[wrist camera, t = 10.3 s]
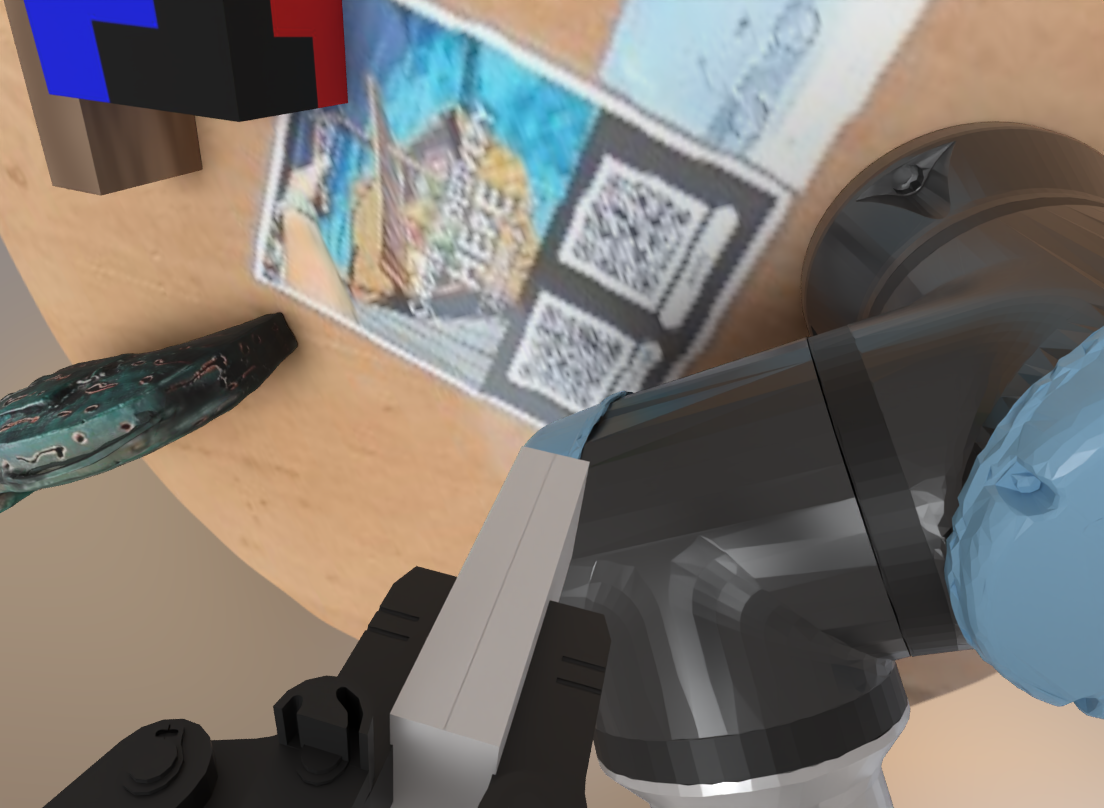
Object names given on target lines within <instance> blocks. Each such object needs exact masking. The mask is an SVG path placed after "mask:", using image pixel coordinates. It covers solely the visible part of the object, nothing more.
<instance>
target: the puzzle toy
mask: <svg viewBox="0 0 1104 808" xmlns="http://www.w3.org/2000/svg"><path fill="white" fill-rule="evenodd" d="M24 4H25V8H26V11H27V15H28V19H29V22H30V26H31V30H32V33H33V37H34V41H35V44H36V48H37V52H38V56H39V59H40V63H41V67H42V70H43V74H44V78H45V81H46V85H47V89H48V92H49V94H50V95H57V96H64V97H71V98H78V99H85V100H92V101H99V102H105V103H112V104H119V105H126V106H133V107H140V108H147V109H154V110H161V111H168V112H175V113H182V114H188V115H195V116H202V117H209V118H216V119H223V120H230V121H237V122H242V121H247V120H253V119H259V118H265V117H270V116H276V115H282V114H287V113H293V112H299V111H305V110H310V109H316V108H322V107H327V106H333V105H339V104H345V103H348V95H347V78H346V61H345V45H344V28H343V11H342V0H24Z"/></svg>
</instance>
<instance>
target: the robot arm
mask: <svg viewBox="0 0 1104 808" xmlns="http://www.w3.org/2000/svg"><path fill="white" fill-rule="evenodd" d="M801 302H802V309H803V314H804V318H805V321H806V325H807V328H808V331H809V334H810V337H808V338H807V337H805V338H802V339H799V340H796V341H793V342H790V343H787V344H784V345H781V346H778V347H775V348H772V349H769V350H766V351H763V352H760V353H756V354H753V355H750V356H747V357H744V358H741V359H738V360H735V361H732V362H729V363H726V364H723V365H720V366H717V367H714V368H711V369H708V370H705V371H702V372H699V373H696V374H693V375H690V376H687V377H684V378H681V379H678V380H675V381H671V382H668V383H665V384H662V385H659V386H655V387H652V388H649V389H646V390H642V391H639V392H636V393H633V392H626V391H621V392H618V393H615V394H612V395H610V396H608V397H607V398H606V399H604V400H603V401H602V402H601V403H600V404H598V405H596V406H593V407H590V408H588V409H585V410H583V411H580V412H577V413H575V414H572V415H570V416H567V417H564V418H562V419H559V420H557V421H554V422H552V423H550V424H548V425H546V426H545V427H543V428H542V429H540V430H539V431H538V432H537V433H535V434H534V435H533V436H532V437H531V438H530V439H529V440H528V441H527V443H526V444H525V445H524V446H522V447H521V449H520V451H519V453H518V456H517V458H516V460H515V462H514V464H513V466H512V468H511V470H510V472H509V474H508V476H507V478H506V480H505V482H504V484H503V486H502V488H501V490H500V492H499V494H498V496H497V498H496V500H495V502H494V504H493V506H492V508H491V510H490V512H489V514H488V516H487V518H486V520H485V522H484V524H483V526H482V528H481V530H480V532H479V534H478V536H477V538H476V540H475V543H474V545H473V547H472V549H471V551H470V553H469V555H468V557H467V559H466V561H465V563H464V565H463V567H462V569H461V571H460V573H459V575H458V577H455V576H452V575H448V574H444V573H440V572H437V571H433V570H429V569H425V568H422V567H418V566H416V567H415V568H413V569H412V570H411V571H409V572H408V573H407V574H405V575H404V576H403V577H401V578H400V579H399V580H397V581H396V582H395V583H394V584H393V585H392V587H391V589H390V590H389V592H388V594H387V595H386V597H385V599H384V600H383V602H382V604H381V605H380V608H379V611H377V612H376V613H375V615H374V617H373V618H372V620H371V622H370V623H369V625H368V629H367V630H365V632H364V633H363V635H362V637H361V638H360V640H359V642H358V644H357V645H356V647H355V648H354V650H353V652H352V653H351V655H350V657H349V658H348V660H347V662H346V663H345V665H344V666H343V668H342V670H341V671H340V673H339V675H338V676H337V677H335V676H323V677H318V678H314V679H309V680H306V681H304V682H302V683H301V684H299V685H297V686H295V687H293V688H292V689H290V690H288V691H287V692H286V693H285V694H284V695H283V696H282V697H281V699H279V701H278V702H277V703H276V704H275V705H274V706H273V708H274V715H275V721H276V727H277V735H275V736H271V737H264V738H258V739H235V740H210V737H209V735H208V734H207V733H206V732H205V731H204V729H203V728H202V727H201V726H200V725H199V724H196V723H193V722H191V721H188V720H185V719H169V720H161V721H158V722H155V723H153V724H150V725H147V726H144V727H141V728H140V729H138V730H137V731H135V732H134V733H132V734H131V735H129V736H128V737H126V738H125V739H123V740H122V741H120V742H119V743H118V744H117V745H116V746H114V747H113V748H112V749H111V750H110V751H109V752H107V753H106V754H105V755H104V756H103V757H101V759H99V760H98V761H97V762H96V763H94V764H93V765H92V766H91V767H90V768H89V769H87V770H86V771H85V772H84V773H83V774H81V775H80V776H79V777H78V778H77V779H76V780H74V781H73V782H72V783H71V784H70V785H69V786H67V787H66V788H65V789H64V790H63V791H61V792H60V793H59V794H58V795H57V796H56V797H54V798H53V799H52V800H51V801H50V802H48V803H47V804H46V805H45V806H44V807H43V808H587V803H586V798H585V781H586V780H585V779H586V773H587V768H588V763H589V758H590V752H591V747H592V742H593V741H594V745H595V749H596V754H597V758H598V761H599V764H600V767H601V769H602V770H603V771H604V773H605V774H606V775H607V776H609V777H610V778H612V779H613V780H614V781H616V782H617V783H619V784H620V785H622V786H623V787H625V788H627V789H628V790H630V791H631V792H633V793H634V794H636V795H637V796H639V797H640V798H642V799H644V800H645V801H647V802H648V803H649V804H650V807H651V808H894V807H893V804H892V800H891V797H890V794H889V791H888V787H887V784H886V781H885V778H884V775H883V771H882V768H881V764H882V761H883V758H884V757H885V755H886V754H887V752H888V751H889V750H890V748H891V747H892V745H893V744H894V742H895V741H896V740H897V738H898V737H899V735H900V734H901V733H902V731H903V730H904V728H905V726H906V724H907V722H908V720H909V716H910V706H909V701H908V697H907V695H906V693H905V690H904V687H903V684H902V681H901V678H900V675H899V671H898V668H897V665H896V662H895V660H898V659H901V658H905V657H909V656H912V657H914V656H919V655H927V654H936V653H944V652H952V651H960V650H969V649H975V650H976V651H977V652H978V654H979V655H980V657H981V658H982V659H983V660H984V661H985V662H987V663H988V664H990V665H992V666H993V667H994V668H995V669H996V670H997V671H998V672H999V673H1000V674H1001V675H1002V676H1003V677H1004V678H1006V679H1007V680H1008V681H1010V682H1011V683H1012V684H1014V685H1015V686H1016V687H1017V688H1019V689H1021V690H1023V691H1025V692H1026V693H1028V694H1029V695H1031V696H1032V697H1034V698H1036V699H1039V700H1041V701H1044V702H1047V703H1049V704H1052V705H1055V706H1064V705H1067V704H1069V703H1071V702H1074V703H1075V705H1076V706H1077V707H1078V709H1079V710H1081V711H1082V712H1083V713H1085V714H1086V715H1088V716H1092V717H1096V718H1100V719H1104V156H1103V155H1102V154H1101V153H1099V152H1098V151H1096V150H1095V149H1093V148H1091V147H1090V146H1088V145H1086V144H1085V143H1082V142H1080V141H1078V140H1076V139H1074V138H1071V137H1069V136H1066V135H1063V134H1060V133H1057V132H1053V131H1050V130H1046V129H1043V128H1039V127H1036V126H1031V125H1026V124H1020V123H1011V122H980V123H971V124H964V125H959V126H954V127H950V128H946V129H942V130H939V131H935V132H932V133H929V134H927V135H924V136H921V137H919V138H916V139H914V140H912V141H910V142H908V143H905V144H903V145H901V146H900V147H898V148H896V149H894V150H892V151H891V152H889V153H887V154H886V155H884V156H883V157H881V158H880V159H878V160H877V161H875V162H874V163H872V164H871V165H870V166H868V167H867V168H866V169H865V170H864V171H862V172H861V173H860V174H859V175H858V176H857V177H855V178H854V179H853V180H852V181H851V182H850V183H849V184H848V185H847V186H846V187H845V188H844V189H843V190H842V192H841V193H840V194H839V195H838V196H837V197H836V199H835V200H834V201H833V203H832V204H831V205H830V207H829V208H828V209H827V211H826V212H825V214H824V216H823V217H822V219H821V220H820V222H819V224H818V226H817V228H816V230H815V232H814V234H813V236H812V238H811V241H810V243H809V246H808V249H807V252H806V256H805V259H804V264H803V269H802V276H801Z"/></svg>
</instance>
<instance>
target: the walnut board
mask: <svg viewBox="0 0 1104 808" xmlns="http://www.w3.org/2000/svg"><path fill="white" fill-rule="evenodd" d="M4 3H5V7H6V11H7V15H8V18H9V22H10V26H11V30H12V34H13V37H14V41H15V45H16V49H17V53H18V56H19V60H20V64H21V68H22V71H23V75H24V79H25V83H26V87H27V90H28V94H29V98H30V102H31V106H32V109H33V113H34V117H35V121H36V124H37V128H38V132H39V136H40V140H41V143H42V147H43V151H44V155H45V159H46V162H47V166H48V170H49V174H50V177H51V181H52V185H53V186H56V187H61V188H66V189H71V190H76V191H81V192H86V193H91V194H96V195H105V194H109V193H113V192H116V191H120V190H124V189H128V188H132V187H136V186H140V185H144V184H148V183H152V182H156V181H160V180H164V179H168V178H172V177H176V176H179V175H183V174H187V173H191V172H195V171H199V170H202V165H201V158H200V151H199V144H198V137H197V131H196V124H195V117H194V115H188V114H182V113H175V112H168V111H161V110H154V109H147V108H140V107H133V106H126V105H119V104H112V103H105V102H99V101H92V100H85V99H78V98H71V97H64V96H57V95H50V94H49V92H48V89H47V85H46V81H45V78H44V74H43V70H42V67H41V63H40V59H39V56H38V52H37V48H36V44H35V41H34V37H33V33H32V30H31V26H30V22H29V19H28V15H27V11H26V8H25V4H24V0H4Z"/></svg>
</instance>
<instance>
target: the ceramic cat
mask: <svg viewBox="0 0 1104 808" xmlns="http://www.w3.org/2000/svg"><path fill="white" fill-rule="evenodd" d="M296 348H297V342H296V340H295V337H294V336H293V334H292V332H291V331H290V329H289V328H288V327H287V325H286V322H285V320H284V318H283V315H282V313H276V314H267V315H264V316H261V317H259V318H257V319H254V320H252V321H248V322H246V323H243V324H241V325H238V326H234V327H231V328H228V329H225V330H222V331H219V332H216V333H213V334H210V335H207V336H204V337H201V338H198V339H195V340H192V341H189V342H186V343H183V344H180V345H175V346H170V347H167V348H164V349H162V350H158V351H153V352H148V353H142V354H131V353H130V354H121V355H119V356H114V357H109V358H104V359H99V360H92V361H88V362H82V363H78V364H74V365H71V366H68V367H66V368H63V369H60V370H59V371H57V372H55V373H53V374H51V375H47V376H42V377H40V378H38V379H37V380H35V381H34V382H32V383H31V384H30V385H29V386H28V387H27V388H24V389H22V390H19V391H17V392H15V393H11V394H8V395H7V396H5V397H4V398H2V399H1V400H0V513H1V512H3V511H5V510H7V509H9V508H10V507H12V506H14V505H15V504H16V503H18V502H19V501H21V500H22V499H24V498H25V497H27V496H29V495H30V494H31V493H33V492H34V491H37V490H41V489H43V488H49V487H54V486H59V485H63V484H68V483H72V482H75V481H78V480H81V479H85V478H88V477H91V476H95V475H98V474H101V473H104V472H107V471H109V470H112V469H114V468H116V467H119V466H121V465H124V464H126V463H128V462H131V461H134V460H136V459H138V458H141V457H143V456H146V455H148V454H150V453H152V452H154V451H156V450H158V449H160V448H162V447H164V446H166V445H168V444H170V443H172V442H174V441H176V440H177V439H179V438H181V437H183V436H185V435H187V434H189V433H191V432H193V431H195V430H197V429H198V428H200V427H202V426H204V425H206V424H207V423H209V422H210V421H212V420H213V419H215V418H217V417H218V416H220V415H222V414H224V413H226V412H228V411H229V410H231V409H233V408H234V407H235V406H237V405H238V404H239V403H240V402H241V401H242V400H243V399H244V398H245V397H246V396H248V395H249V394H250V393H252V392H253V391H255V390H256V389H257V388H259V387H260V385H261V384H262V383H263V382H264V381H265V380H266V379H267V378H268V377H269V376H270V375H271V373H272V372H273V371H274V370H275V369H276V367H277V366H278V365H279V364H280V363H281V362H282V361H283V360H284V359H285V358H286V357H287V356H288V355H290V354H291V353H292V352H293V351H294V350H295V349H296Z"/></svg>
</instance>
